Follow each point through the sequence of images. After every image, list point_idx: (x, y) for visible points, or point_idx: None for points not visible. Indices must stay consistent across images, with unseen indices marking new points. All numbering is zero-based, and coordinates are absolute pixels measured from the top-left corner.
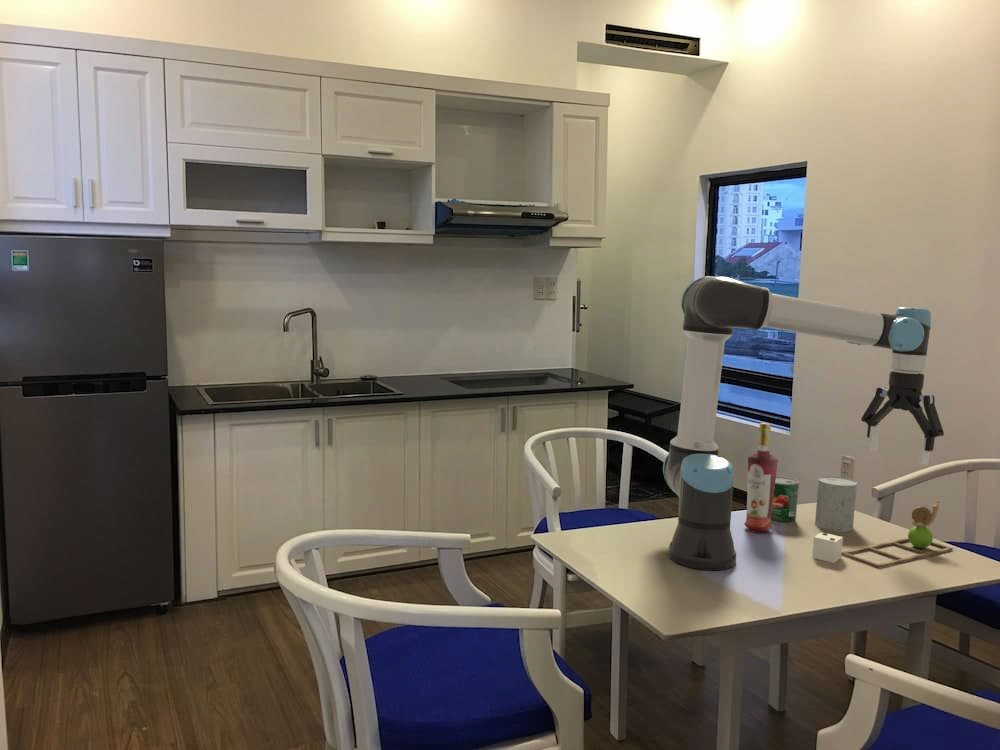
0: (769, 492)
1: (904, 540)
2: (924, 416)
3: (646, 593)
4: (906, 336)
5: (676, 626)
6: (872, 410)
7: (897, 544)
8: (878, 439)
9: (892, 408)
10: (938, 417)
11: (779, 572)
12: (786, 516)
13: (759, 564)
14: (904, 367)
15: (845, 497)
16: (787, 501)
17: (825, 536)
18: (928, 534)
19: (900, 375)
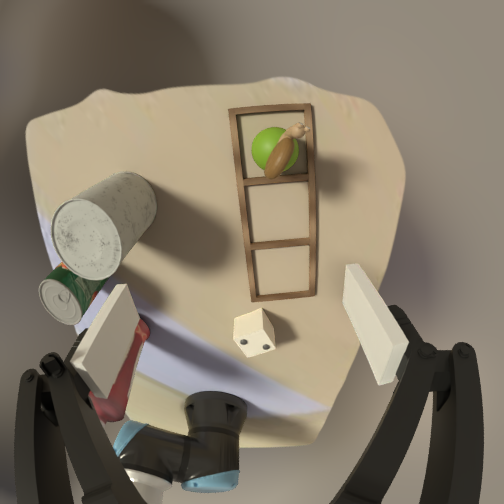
0: (133, 370)
1: (239, 148)
2: (397, 463)
3: (264, 440)
4: None
5: (310, 441)
6: (59, 451)
7: (253, 184)
8: (107, 317)
9: (122, 491)
10: (482, 431)
11: (271, 381)
12: (105, 279)
13: (245, 384)
14: None
15: (131, 241)
16: (94, 294)
17: (251, 345)
18: (296, 154)
19: None
